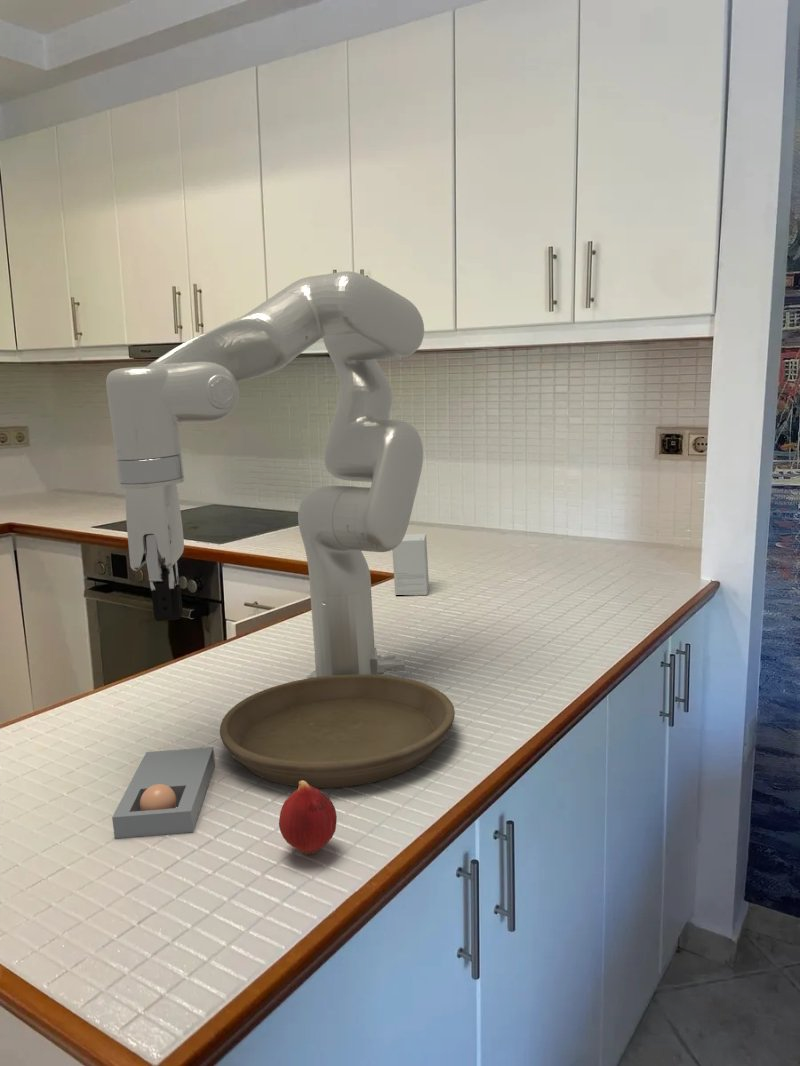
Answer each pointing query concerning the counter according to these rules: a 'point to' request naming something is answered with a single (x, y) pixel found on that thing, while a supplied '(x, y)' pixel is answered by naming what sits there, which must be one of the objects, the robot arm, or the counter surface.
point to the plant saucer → (337, 729)
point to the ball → (158, 798)
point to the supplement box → (411, 566)
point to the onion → (307, 819)
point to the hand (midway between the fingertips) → (169, 618)
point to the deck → (183, 776)
